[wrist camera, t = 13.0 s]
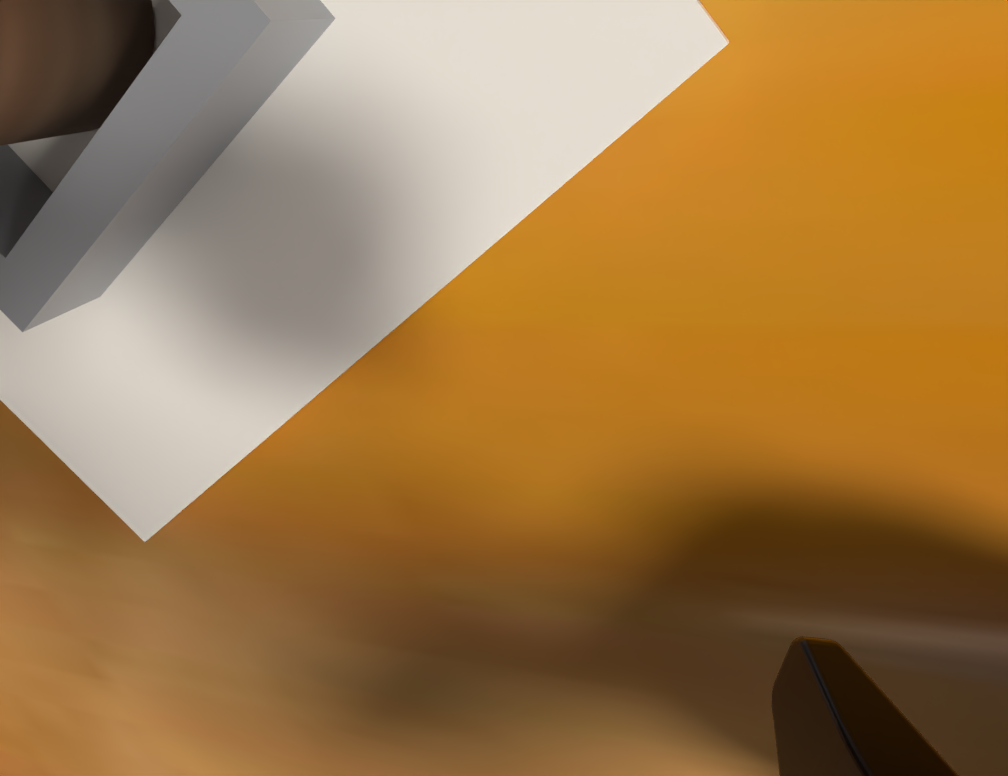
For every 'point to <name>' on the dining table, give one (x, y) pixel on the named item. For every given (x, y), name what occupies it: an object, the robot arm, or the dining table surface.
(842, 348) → the dining table surface
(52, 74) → the brown cylinder
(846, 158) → the dining table surface
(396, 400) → the dining table surface
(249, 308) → the square socket base
